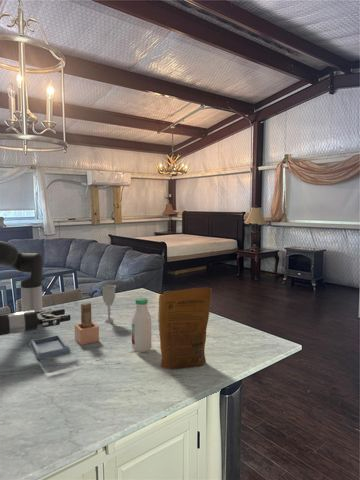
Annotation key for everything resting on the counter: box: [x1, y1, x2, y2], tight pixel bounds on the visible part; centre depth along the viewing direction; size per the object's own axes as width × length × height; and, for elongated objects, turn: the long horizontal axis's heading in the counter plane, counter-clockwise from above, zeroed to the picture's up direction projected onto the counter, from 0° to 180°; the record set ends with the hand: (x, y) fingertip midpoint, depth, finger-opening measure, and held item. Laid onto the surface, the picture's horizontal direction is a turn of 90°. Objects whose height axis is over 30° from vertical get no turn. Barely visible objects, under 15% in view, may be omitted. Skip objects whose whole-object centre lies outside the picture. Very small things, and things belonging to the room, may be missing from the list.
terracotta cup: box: [74, 320, 100, 346], centre depth 135 cm, size 8×8×7 cm
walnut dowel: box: [80, 302, 92, 329], centre depth 134 cm, size 4×4×15 cm
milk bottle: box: [131, 297, 152, 353], centre depth 128 cm, size 8×8×20 cm
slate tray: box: [30, 334, 71, 362], centre depth 127 cm, size 16×11×2 cm
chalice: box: [101, 284, 117, 324], centre depth 156 cm, size 7×7×18 cm
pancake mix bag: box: [157, 287, 213, 370], centre depth 114 cm, size 7×19×28 cm, turn 102°
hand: (67, 314), depth 130 cm, fingers open, 8 cm apart
